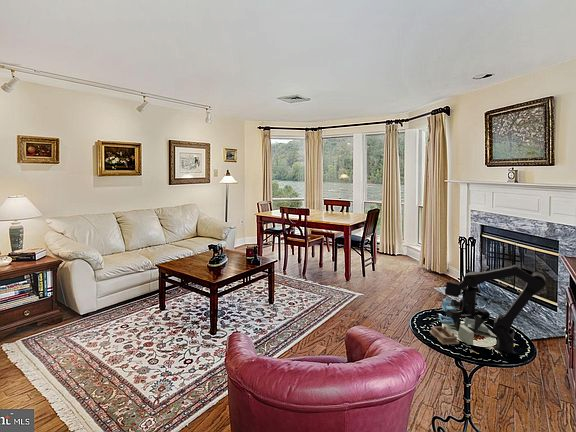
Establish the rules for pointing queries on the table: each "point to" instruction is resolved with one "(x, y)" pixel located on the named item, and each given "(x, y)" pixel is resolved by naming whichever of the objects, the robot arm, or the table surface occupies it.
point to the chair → (446, 310)
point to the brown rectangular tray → (444, 335)
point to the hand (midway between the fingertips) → (466, 330)
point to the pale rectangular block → (466, 334)
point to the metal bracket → (482, 328)
